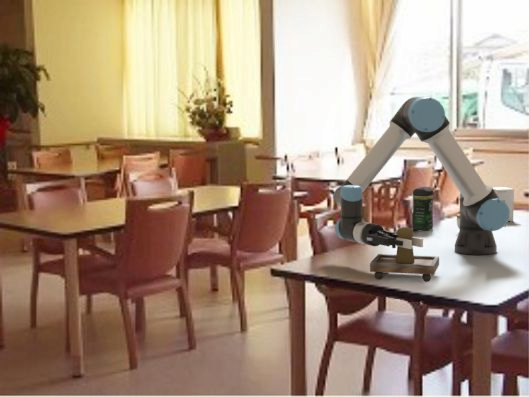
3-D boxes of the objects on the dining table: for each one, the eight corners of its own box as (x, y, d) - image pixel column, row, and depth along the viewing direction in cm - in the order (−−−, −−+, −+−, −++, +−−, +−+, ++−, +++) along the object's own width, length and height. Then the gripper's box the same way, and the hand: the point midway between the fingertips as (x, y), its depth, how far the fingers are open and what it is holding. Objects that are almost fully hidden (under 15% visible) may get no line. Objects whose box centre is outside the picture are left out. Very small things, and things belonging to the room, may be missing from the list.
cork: (393, 259, 267) (393, 226, 266) (411, 259, 268) (411, 225, 266) (398, 263, 261) (398, 229, 260) (416, 262, 262) (416, 228, 260)
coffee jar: (427, 231, 349) (427, 188, 347) (410, 230, 353) (410, 187, 351) (435, 228, 357) (435, 186, 355) (418, 227, 361) (418, 185, 359)
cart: (438, 273, 269) (439, 256, 268) (433, 283, 255) (433, 265, 254) (378, 270, 275) (378, 254, 275) (370, 280, 261) (370, 263, 260)
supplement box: (495, 222, 370) (495, 189, 368) (486, 219, 378) (486, 187, 376) (514, 221, 371) (514, 188, 369) (504, 218, 380) (504, 186, 378)
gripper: (388, 242, 284) (436, 252, 264) (349, 247, 275) (396, 258, 255) (388, 220, 283) (436, 229, 263) (349, 225, 274) (396, 235, 254)
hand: (416, 243), depth 259 cm, fingers closed on cork, 4 cm apart
